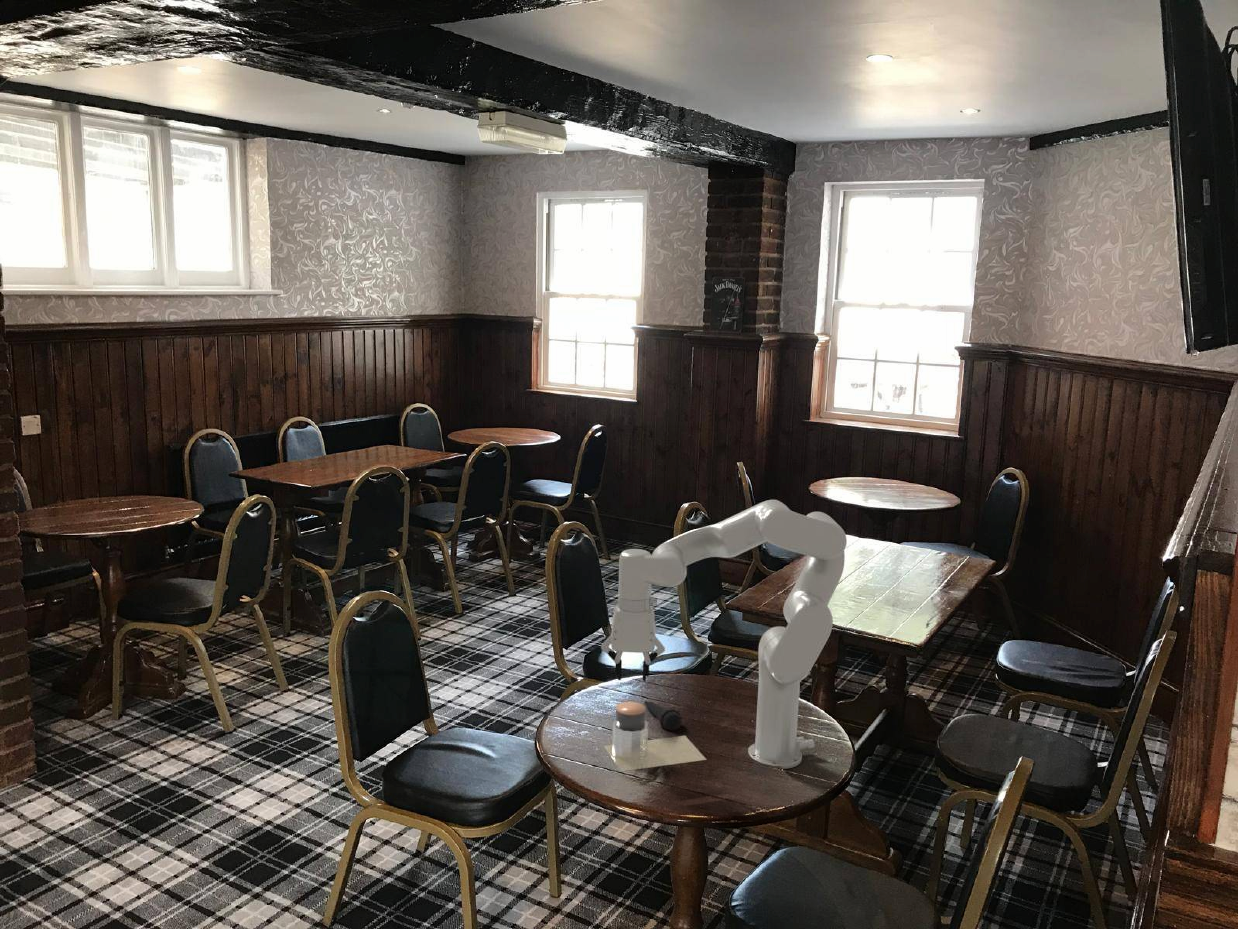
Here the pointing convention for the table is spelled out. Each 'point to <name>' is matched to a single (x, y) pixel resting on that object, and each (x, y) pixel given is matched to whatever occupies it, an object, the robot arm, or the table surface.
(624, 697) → the table surface
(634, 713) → the peach ball on collar
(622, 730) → the cylinder on base plate
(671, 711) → the microphone
